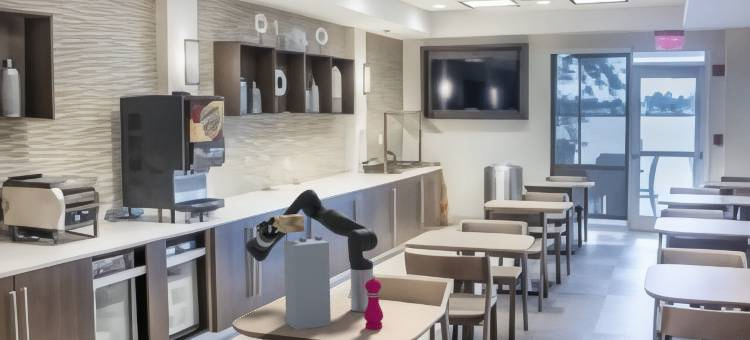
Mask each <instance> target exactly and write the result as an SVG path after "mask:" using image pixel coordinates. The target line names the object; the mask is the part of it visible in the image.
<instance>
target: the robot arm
mask: <svg viewBox="0 0 750 340" xmlns="http://www.w3.org/2000/svg"><path fill="white" fill-rule="evenodd" d="M301 210H302V212H303V214H304V216H306V217H308V218H310V219H312V220H314V221H316V222H318V223H319V224H321V225H322V226H324V227H325V228H326V229H327V230H328V231H330V232H331V233H333V234H335V235H338V236H341V237H346V238H347V250H348V251H347V252H348V262H349V266H350V267H349V268H350V309H351V311H353V312H357V313H363V312H364V313H365V310H366V308H367V305H368V296H367V292H368V291H367V290H366V288H365V284H366V282H367V281H368V280H370V279H371V276H372V275H374V263H373V261H372V260H370V259H369V258H365V257H364V254H363V252H369V251H372V250H375V248H376V247H377V245H378V242H379V240H378V236H377V234H376V233H375V232H374V230H373V229H371V228H370V227H367V226H365V225H364V224H361V223H360V222H359V223H358V222H357V221H356V220H354V219H352V218H350V217H349V216H347V215H346V214H345V213H343V212H341V211H340V210H338V209H336V208H329V209H328V207H326V206H325V205H324V204H323V203H322V201H321V199H320V198H319V195H318V194H317V193H316V191H315V190H314V189H305V190H304V191H302V192H301V193H300V194H299V195H298V196H297V197H296V198H295V200H294V201H292V202H291V204H290V206H288V208H287V209H286V211H285V212H284V213H283V214H282V215H294V214H299V212H300V211H301ZM274 222H275V219H274V217H272V218H270V217H269V219H268V220H267V221H266V220H264V221H261V222H260V223H258V224H257V225H256V227H255V228H256V232H257V235H256V236H255V237H252V238H251V239H249V240H248V242H246V245H245V248H246V250H247V252H248V253H249V254H250V256H252V257H253V258H254V259H255V261H257V262H263V261H265V260H266V259H267V257H268V256H269V255H270V253H271V251H272V249H274V247H275V246H276V245H277V244H278V242H280V240H282V239H283V238H284V237H285V236H286V235H287V234H288V233H283V232H280V231H279V228H276V227H273V226H272V225H273V223H274Z"/></svg>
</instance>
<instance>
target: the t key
mask: <svg viewBox="0 0 750 340" xmlns="http://www.w3.org/2000/svg"><path fill="white" fill-rule="evenodd" d="M272 217H274V219H275V222H274V223H273V225H272V226H273V227H276V228H279V231H280V232H283V233H287V234H289V233H301V232H305V215H302V214H299V213H297V214H294V215H283V214H282V215H270V216H269V219H270V218H272Z"/></svg>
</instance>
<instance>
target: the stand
mask: <svg viewBox="0 0 750 340" xmlns="http://www.w3.org/2000/svg"><path fill="white" fill-rule="evenodd" d="M283 255H284V256H283V257H284V285H285V287H284V288H285V289H284V290H285V295H284V296H285V324H286V325H287V326H289V327H290V328H292V329H294V330H295V331H301V330H307V329H314V328H321V327H329V326H331V325H332V324H331V323H332V322H331V321H332V320H331V319H332V318H331V317H332V316H331V284H330V283H331V282H330V280H331V279H330V272H331V271H330V242H329V241H327V240H323V237H322V236H320V235H314V238H309V239H308V238H306V237H303V236H299V239H297V240H289V241H287V240H286V241H284V242H283Z"/></svg>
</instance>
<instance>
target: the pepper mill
mask: <svg viewBox="0 0 750 340" xmlns="http://www.w3.org/2000/svg"><path fill="white" fill-rule="evenodd" d="M365 288H366V290H367V291H368V292H367V296H368V305H367V308H366V310H365V312H364V314H363V319H364V320H365V321H366V322H365V329H367V330H372V331H373V330H380V329H382V328H383V322H382V321H383V319H384V312H383V310H382V307H381V305H380V302H379V301H380V300H379V299H380V296H381V295H380V293H381V292H380V290H381V289H382V283H381V281H380V280H378V279H376V275H374V274H373V275H372V276H371V279H370V280H368V281H367V282H366V284H365Z"/></svg>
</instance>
